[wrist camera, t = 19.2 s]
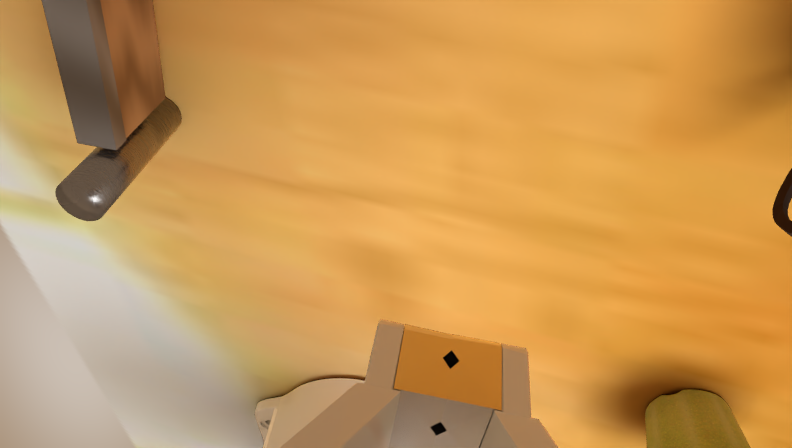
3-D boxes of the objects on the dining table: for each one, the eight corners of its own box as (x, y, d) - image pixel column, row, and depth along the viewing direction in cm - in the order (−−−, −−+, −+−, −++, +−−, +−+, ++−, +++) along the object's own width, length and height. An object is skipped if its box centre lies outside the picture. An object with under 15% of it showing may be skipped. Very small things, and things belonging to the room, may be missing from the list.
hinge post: (183, 134, 36) (108, 225, 29) (145, 126, 36) (61, 215, 29) (179, 99, 35) (99, 186, 28) (140, 91, 35) (50, 176, 28)
